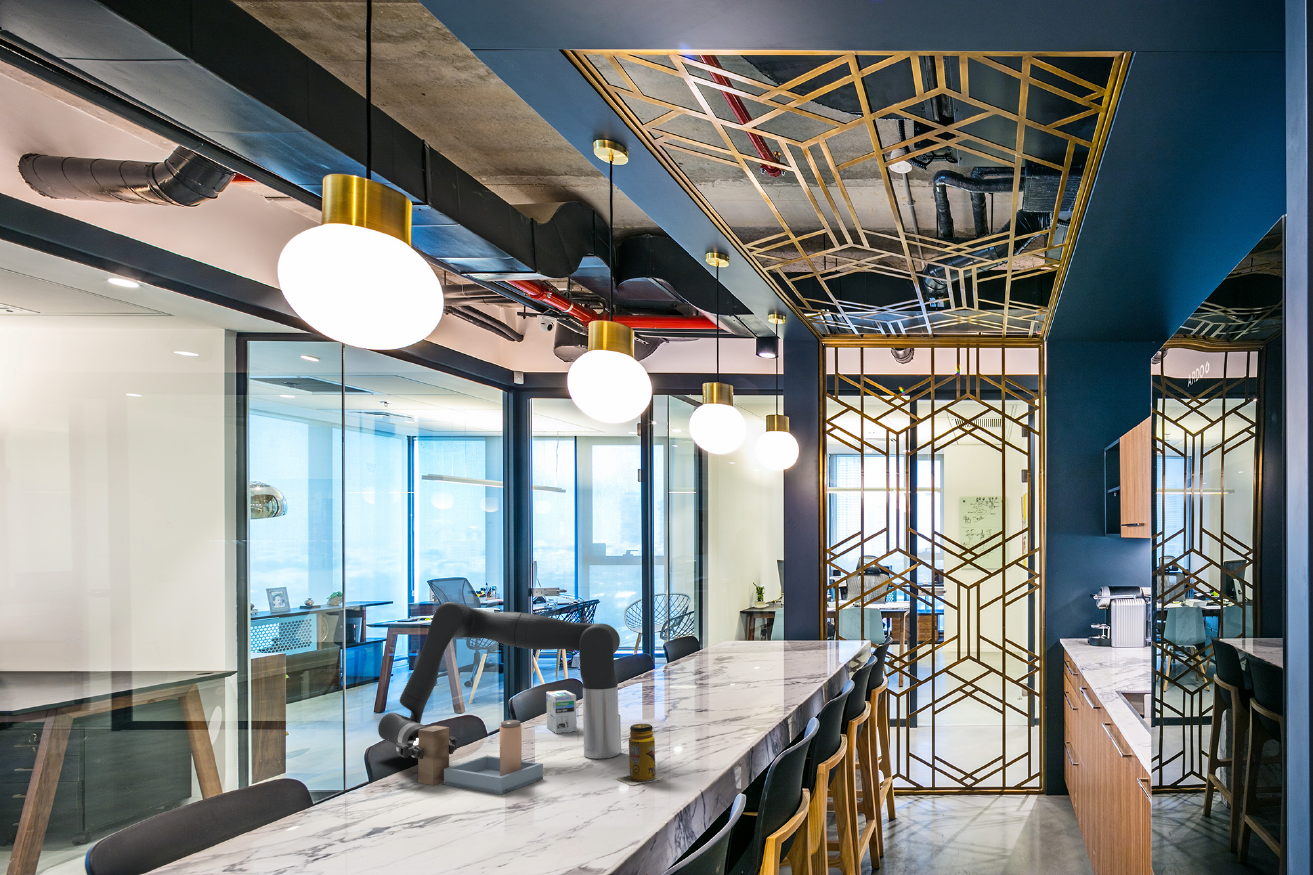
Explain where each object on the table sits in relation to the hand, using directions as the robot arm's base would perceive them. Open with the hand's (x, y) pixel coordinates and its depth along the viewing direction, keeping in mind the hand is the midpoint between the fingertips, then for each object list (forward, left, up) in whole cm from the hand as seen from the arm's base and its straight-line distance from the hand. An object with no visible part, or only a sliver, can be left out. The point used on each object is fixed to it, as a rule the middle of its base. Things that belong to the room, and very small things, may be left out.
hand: (436, 751), depth 197 cm
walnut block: (-1, -2, -7) cm, 7 cm away
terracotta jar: (-8, +16, -6) cm, 19 cm away
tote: (-7, +11, -7) cm, 15 cm away
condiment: (-24, +41, -7) cm, 48 cm away
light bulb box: (-59, -11, -7) cm, 60 cm away
